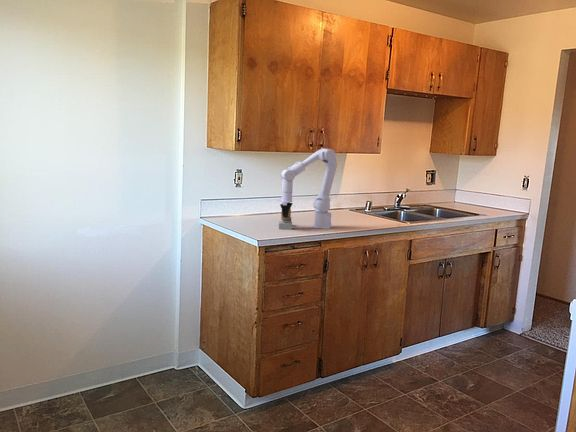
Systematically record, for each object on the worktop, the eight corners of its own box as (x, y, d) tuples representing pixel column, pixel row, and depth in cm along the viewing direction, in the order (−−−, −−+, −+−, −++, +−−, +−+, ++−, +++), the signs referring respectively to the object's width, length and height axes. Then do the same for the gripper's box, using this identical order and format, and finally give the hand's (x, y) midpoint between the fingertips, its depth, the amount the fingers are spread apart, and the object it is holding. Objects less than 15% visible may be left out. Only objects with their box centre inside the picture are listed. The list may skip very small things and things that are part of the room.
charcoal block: (291, 225, 278) (291, 217, 278) (290, 226, 274) (290, 218, 273) (283, 224, 279) (283, 216, 278) (282, 226, 274) (282, 218, 274)
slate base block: (291, 227, 272) (292, 221, 271) (291, 230, 265) (291, 223, 264) (279, 227, 272) (279, 221, 271) (278, 229, 265) (279, 223, 265)
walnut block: (290, 218, 270) (291, 209, 269) (289, 220, 265) (289, 210, 264) (282, 218, 270) (282, 208, 269) (281, 219, 266) (281, 209, 265)
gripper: (281, 190, 273) (280, 214, 275) (277, 193, 259) (276, 218, 261) (294, 190, 272) (293, 214, 274) (290, 193, 258) (289, 219, 260)
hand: (285, 216), depth 267 cm, fingers closed on walnut block, 4 cm apart
